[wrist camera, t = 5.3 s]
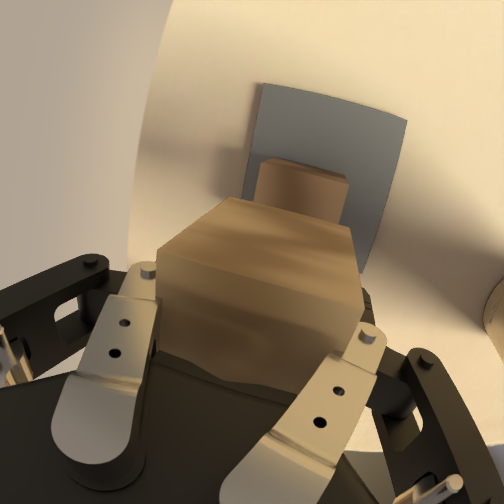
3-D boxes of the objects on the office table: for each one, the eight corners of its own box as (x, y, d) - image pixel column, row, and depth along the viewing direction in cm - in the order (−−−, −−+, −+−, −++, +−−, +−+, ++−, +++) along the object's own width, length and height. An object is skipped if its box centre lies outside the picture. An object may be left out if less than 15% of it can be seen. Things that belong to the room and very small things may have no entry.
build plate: (404, 120, 21) (407, 120, 20) (360, 268, 27) (361, 273, 26) (266, 84, 23) (263, 83, 22) (237, 235, 29) (234, 238, 28)
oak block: (349, 227, 12) (364, 308, 6) (315, 326, 14) (301, 430, 8) (230, 196, 12) (156, 250, 7) (214, 297, 15) (156, 384, 9)
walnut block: (344, 174, 23) (349, 185, 19) (326, 241, 26) (325, 265, 21) (273, 156, 24) (260, 162, 20) (259, 223, 27) (244, 243, 22)
